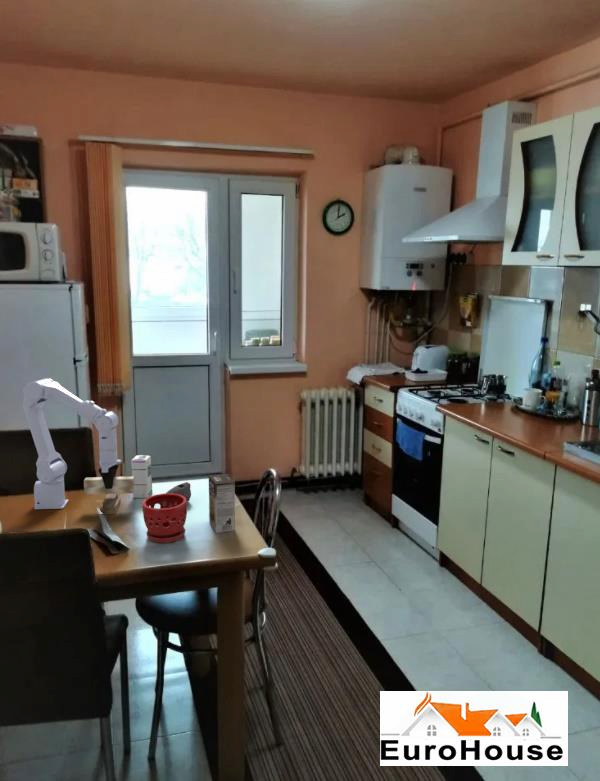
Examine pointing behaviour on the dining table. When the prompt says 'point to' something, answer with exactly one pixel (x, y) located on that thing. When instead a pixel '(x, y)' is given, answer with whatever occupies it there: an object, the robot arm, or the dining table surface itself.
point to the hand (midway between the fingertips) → (109, 486)
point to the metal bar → (119, 486)
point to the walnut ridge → (110, 504)
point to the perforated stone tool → (181, 491)
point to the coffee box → (221, 503)
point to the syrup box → (142, 476)
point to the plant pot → (165, 517)
